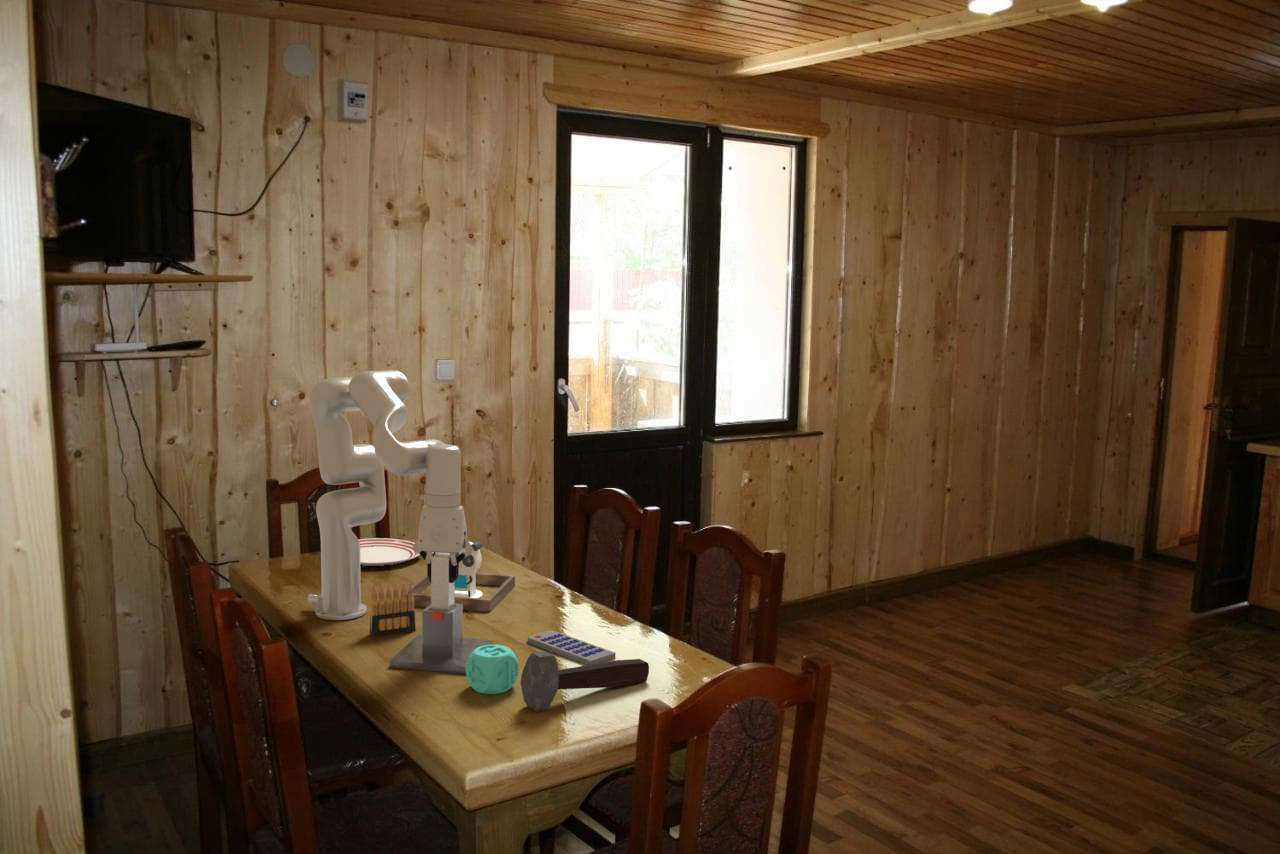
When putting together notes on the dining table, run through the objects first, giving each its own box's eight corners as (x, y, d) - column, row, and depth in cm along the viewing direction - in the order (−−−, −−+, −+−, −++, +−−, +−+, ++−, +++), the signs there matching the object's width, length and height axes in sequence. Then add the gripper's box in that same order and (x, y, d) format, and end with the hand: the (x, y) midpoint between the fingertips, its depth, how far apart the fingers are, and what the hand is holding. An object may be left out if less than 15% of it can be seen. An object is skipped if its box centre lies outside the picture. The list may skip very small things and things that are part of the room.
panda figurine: (430, 598, 281) (430, 543, 279) (449, 587, 292) (449, 534, 290) (471, 603, 278) (472, 548, 276) (489, 591, 288) (489, 538, 286)
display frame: (401, 604, 275) (401, 593, 274) (432, 580, 298) (432, 569, 298) (490, 611, 271) (490, 600, 271) (515, 585, 295) (515, 575, 294)
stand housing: (389, 667, 230) (389, 616, 229) (418, 640, 248) (418, 593, 247) (468, 674, 228) (469, 622, 226) (492, 646, 245) (493, 598, 244)
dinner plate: (442, 557, 323) (442, 546, 323) (375, 576, 301) (375, 565, 300) (378, 543, 338) (378, 533, 338) (310, 561, 315) (310, 550, 315)
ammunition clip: (371, 636, 250) (371, 587, 248) (369, 634, 251) (369, 585, 250) (415, 630, 255) (415, 582, 253) (413, 628, 256) (413, 580, 255)
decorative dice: (490, 697, 215) (490, 660, 214) (464, 687, 221) (465, 650, 219) (519, 687, 221) (519, 650, 220) (493, 677, 227) (494, 641, 225)
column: (430, 628, 235) (431, 556, 233) (437, 622, 239) (437, 551, 237) (448, 629, 235) (448, 557, 232) (454, 623, 239) (454, 553, 236)
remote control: (590, 669, 234) (590, 659, 234) (524, 643, 250) (524, 634, 249) (615, 660, 240) (615, 651, 240) (549, 635, 255) (549, 626, 255)
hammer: (634, 693, 230) (517, 706, 211) (641, 642, 229) (524, 651, 210) (648, 700, 226) (530, 714, 207) (654, 648, 225) (537, 658, 206)
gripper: (400, 501, 231) (401, 582, 233) (474, 506, 228) (473, 588, 231) (413, 495, 238) (413, 573, 240) (484, 499, 236) (484, 578, 238)
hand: (442, 579), depth 236 cm, fingers closed on column, 4 cm apart
